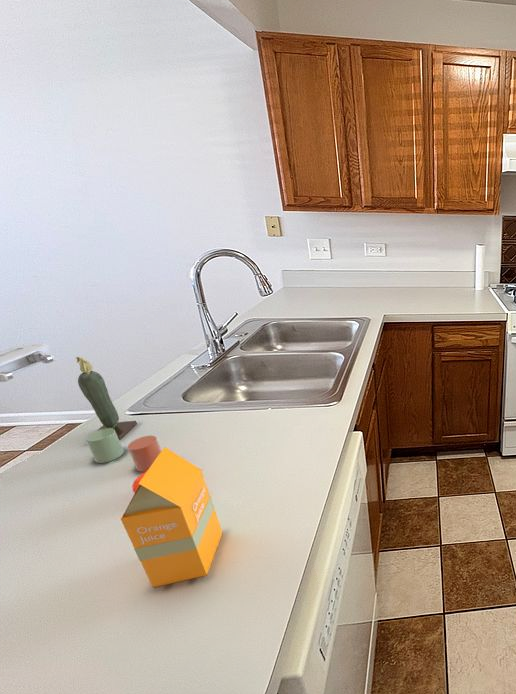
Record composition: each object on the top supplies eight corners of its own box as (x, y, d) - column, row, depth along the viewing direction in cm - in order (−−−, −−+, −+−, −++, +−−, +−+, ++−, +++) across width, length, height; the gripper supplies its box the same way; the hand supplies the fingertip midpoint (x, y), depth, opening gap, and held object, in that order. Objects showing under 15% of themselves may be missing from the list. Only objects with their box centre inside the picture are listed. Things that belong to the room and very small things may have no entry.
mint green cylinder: (89, 464, 89) (79, 442, 87) (104, 450, 93) (95, 429, 91) (115, 461, 90) (105, 439, 87) (128, 448, 94) (119, 426, 92)
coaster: (87, 443, 96) (85, 439, 96) (106, 426, 102) (105, 423, 102) (120, 439, 97) (118, 436, 97) (137, 423, 104) (135, 420, 103)
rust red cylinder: (131, 473, 86) (122, 450, 84) (144, 458, 91) (136, 436, 88) (157, 470, 87) (148, 448, 85) (169, 455, 92) (161, 434, 89)
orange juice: (151, 588, 62) (105, 489, 54) (174, 542, 70) (136, 450, 62) (208, 575, 64) (170, 478, 56) (224, 532, 72) (193, 441, 64)
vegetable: (125, 427, 100) (96, 356, 92) (104, 436, 97) (71, 363, 89) (118, 422, 102) (89, 352, 94) (97, 430, 99) (64, 358, 91)
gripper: (25, 360, 103) (78, 360, 103) (-78, 401, 84) (-13, 401, 84) (14, 338, 100) (68, 338, 100) (-94, 375, 81) (-28, 375, 81)
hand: (31, 367), depth 92 cm, fingers open, 8 cm apart
